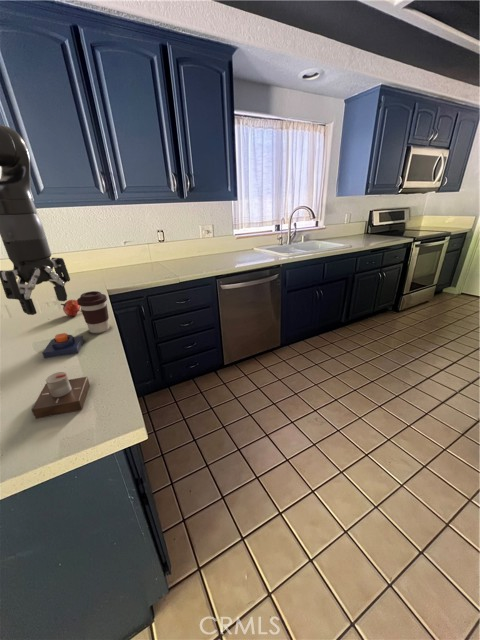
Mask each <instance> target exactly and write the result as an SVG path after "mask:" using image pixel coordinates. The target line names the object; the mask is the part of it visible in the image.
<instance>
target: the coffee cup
mask: <svg viewBox="0 0 480 640" xmlns="http://www.w3.org/2000/svg"><path fill="white" fill-rule="evenodd" d="M76 300H77V303H78V305H80V312H81V311H82V312H81V313H82V316H83V319H84V322H85V324H86V326H87V328H88V331H89V332H90V333H92V334H100V333H101V334H102V333H104V332H106V331H108V330H110V321H109V318H110V316H109V311H108V305H107V300H108V297H107V295H106V294H104V293H102V292H101V291H98V290H97V291H96V290H92V291H87V292H83V293H82V294H80V297H78V298H77V299H76Z"/></svg>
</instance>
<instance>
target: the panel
mask: <svg viewBox="0 0 480 640" xmlns="http://www.w3.org/2000/svg"><path fill="white" fill-rule="evenodd" d="M69 382H70V385H71V391H70V392H69V393H68V394H66V395H64V396H61V397H53V396H52V395H51V393H50V390H49V388H48V385H47V383H45V384H44V386H43V388H42V390H41V392H40V393H39V395H38V397H37V399H36V401H35V403H34V404H33V406H32V408H31V411H32V414H33V416H34V419H35V420H37V419H42V418H47V417H53V416H58V415H64V414H68V413H73V412H79V411H82V410H83V409H84V406H85V401H86V398H87V396H88V392H89V389H90V386H91V384H90V381H89V378H88V376H83V377H75V378H72V379H70V378H69Z"/></svg>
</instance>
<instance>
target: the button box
mask: <svg viewBox="0 0 480 640" xmlns="http://www.w3.org/2000/svg"><path fill="white" fill-rule="evenodd" d="M67 336H68V340H66V341H63V342H56V340H55V337H54V338H52V339H50V341H49V343H48V344H47V345H46V347H45V348H44V350H43V351H42V356H43V358H44V359H49V358H56V357H63V356H69V355H71V356H72V355H76V354H79V353H80V350H81V348H82V346H83V344H84V342H85V339H84V336H83V335H78V336H73V334H67Z"/></svg>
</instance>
